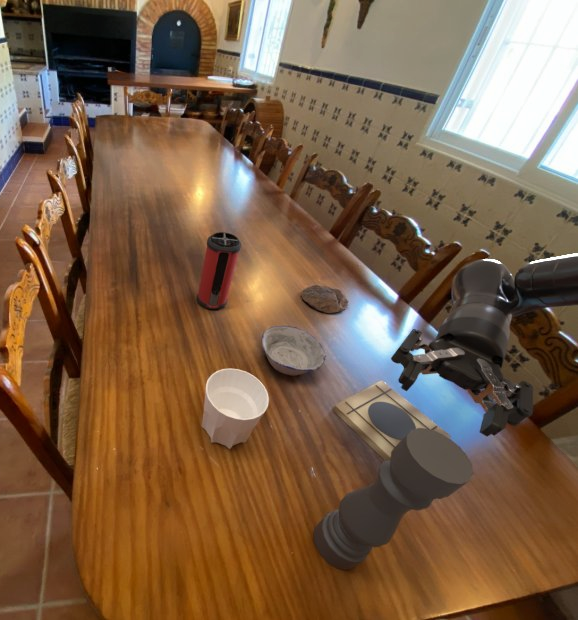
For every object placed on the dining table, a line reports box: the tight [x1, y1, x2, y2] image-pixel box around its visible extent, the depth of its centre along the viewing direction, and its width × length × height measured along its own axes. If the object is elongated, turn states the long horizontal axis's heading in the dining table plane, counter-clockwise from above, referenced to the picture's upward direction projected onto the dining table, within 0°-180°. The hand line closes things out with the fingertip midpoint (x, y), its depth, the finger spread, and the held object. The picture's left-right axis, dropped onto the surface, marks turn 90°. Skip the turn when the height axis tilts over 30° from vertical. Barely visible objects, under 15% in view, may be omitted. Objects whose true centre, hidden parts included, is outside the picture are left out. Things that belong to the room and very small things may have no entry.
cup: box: [200, 367, 270, 450], centre depth 60 cm, size 10×10×10 cm
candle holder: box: [312, 428, 474, 571], centre depth 42 cm, size 6×6×25 cm
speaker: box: [196, 231, 242, 310], centre depth 86 cm, size 8×8×18 cm
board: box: [332, 379, 452, 462], centre depth 66 cm, size 14×14×2 cm
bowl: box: [261, 325, 327, 377], centre depth 75 cm, size 13×13×5 cm
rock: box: [300, 284, 349, 314], centre depth 94 cm, size 11×12×3 cm
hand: (446, 407), depth 42 cm, fingers open, 8 cm apart
